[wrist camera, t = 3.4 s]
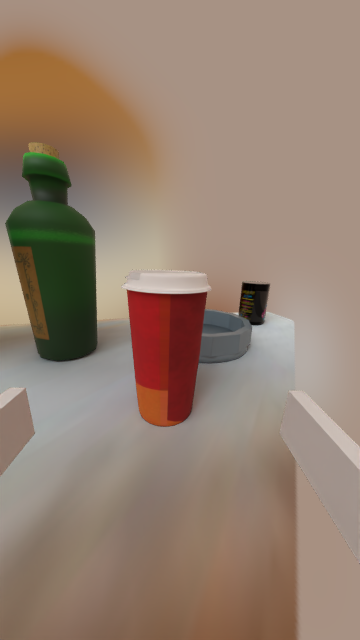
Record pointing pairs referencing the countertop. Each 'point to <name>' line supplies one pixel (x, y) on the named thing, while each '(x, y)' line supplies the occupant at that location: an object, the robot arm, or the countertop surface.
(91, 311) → the bottle
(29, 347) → the countertop surface
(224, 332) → the bowl
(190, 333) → the paper cup
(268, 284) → the supplement container
